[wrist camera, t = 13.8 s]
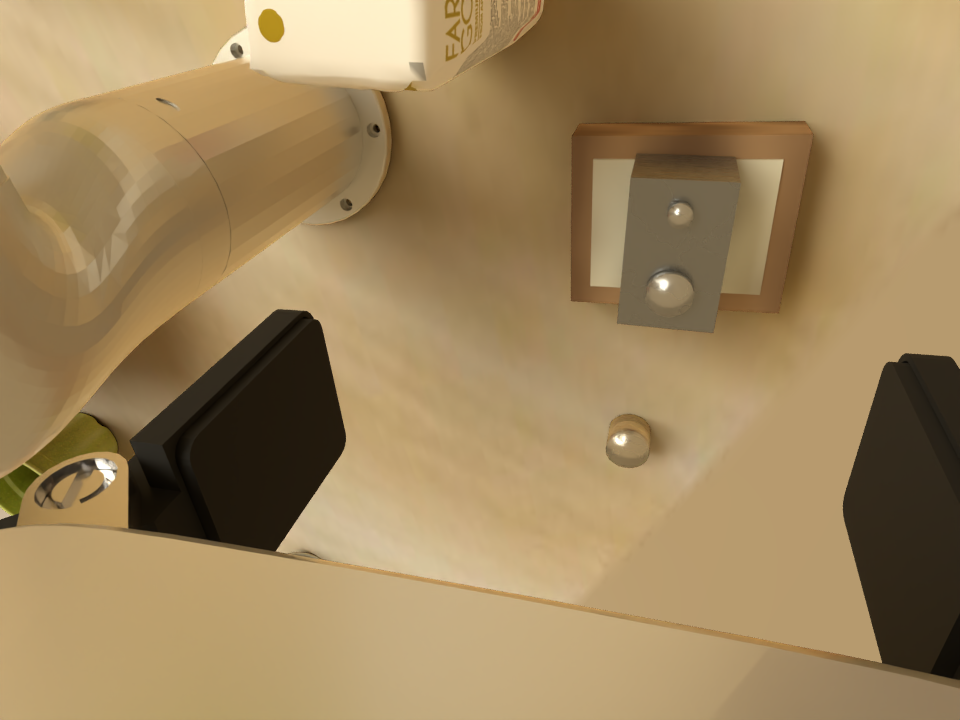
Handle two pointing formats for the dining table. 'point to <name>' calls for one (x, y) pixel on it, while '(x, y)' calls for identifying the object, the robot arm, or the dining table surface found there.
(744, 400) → the dining table surface
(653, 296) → the housing
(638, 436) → the cylinder
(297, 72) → the juice carton
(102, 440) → the plant pot
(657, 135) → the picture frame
